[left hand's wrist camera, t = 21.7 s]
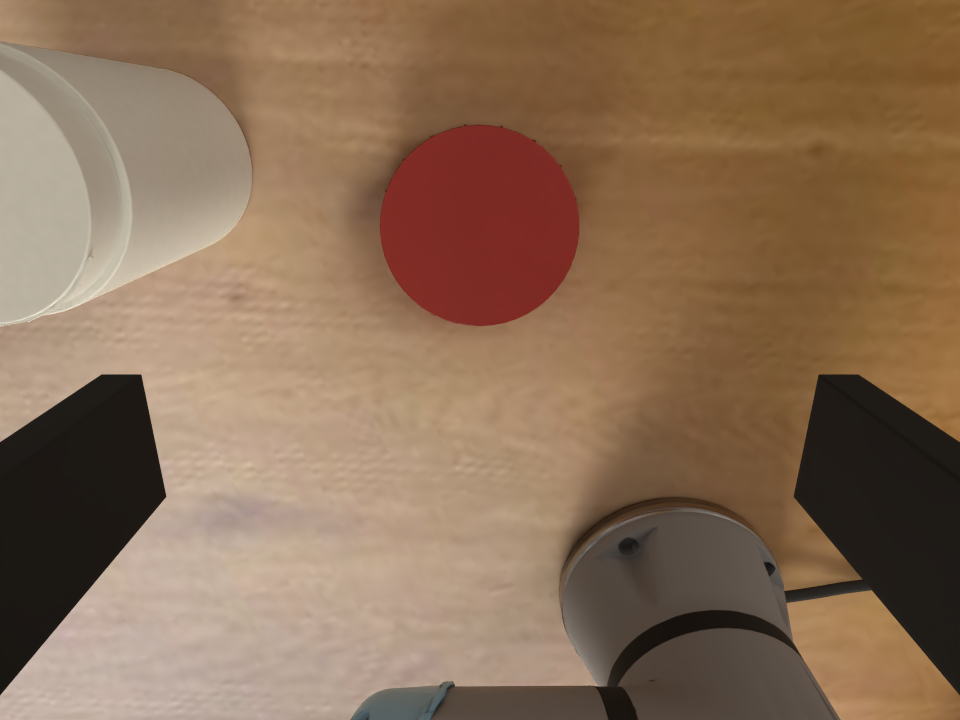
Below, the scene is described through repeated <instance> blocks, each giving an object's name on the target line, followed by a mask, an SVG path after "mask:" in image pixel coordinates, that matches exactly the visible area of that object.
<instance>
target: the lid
mask: <svg viewBox="0 0 960 720" xmlns="http://www.w3.org/2000/svg"><path fill="white" fill-rule="evenodd" d="M535 142H536V141H535V140H533V139H532V140H531V139H529V138H527V137H525V136H524V135H522V134H520V133H517V132H514V131H511V130H509V129H506V128H503V126H500V127H496V126H490V125H470V126H467V124H464V126H463V127H458V128H454V129H450V130H448V131H445V132H442V133H440V134H438V135H436V136H434V135H432V136H430V139H428V140H427V141H425V142H424V143H422V144H421V145H420V146H418V147H417V148H416V149H415V150H414V151H413V152H411V153H410V154H409V155H408V156H407V157H406V158H404V159H403V162H402V164H401V165H400V166H399V167H398V169H397V170H396V172H395V174H394V175H393V177H392V179H391V181H390V183H389V185H388V188H387V189H386V191H385V192H386V193H385V196H384V200H383V204H382V209H381V217H380V234H381V242H382V247H383V251H384V255H385V258H386V261H387V263H388V266H389V268H390V270H391V272H392V274H393V276H394V277H395V279H396V281H397V282H398V284H399V285H400V286H401V288H402V289H403V290H404V291H405V292H406V293H407V295H408V296H409V297H410V298H411V299H412V300H413V301H415V302H416V303H417V304H418V305H420V306H421V307H422V308H424V309H425V310H427V311H428V312H430V313H432V314H433V315H436V316H438V317H440V318H442V319H444V320H448V321H451V322H454V323H458V324H463V325H471V326H488V325H496V324H501V323H506V322H509V321H512V320H515V319H517V318H519V317H522V316H524V315H526V314H528V313H529V312H531V311H533V310H534V309H536V308H537V307H539V306H540V305H541V304H542V303H543V302H545V301H546V300H547V299H548V298H549V297H550V296H551V295H552V294H553V293H554V292H555V291H556V289H557V288H558V287H559V285H560V284H561V283H562V281H563V280H564V278H565V276H566V274H567V272H568V271H569V269H570V266H571V264H572V261H573V259H574V256H575V252H576V248H577V244H578V236H579V215H578V208H577V203H576V197H575V196H574V192H573V190H572V187H571V185H570V183H569V180H568V178H567V177H566V175H565V173H564V172H563V170H562V168H561V167H562V166H561V165H559V164H558V163H557V162H556V161H555V159H554V158H553V157H552V156H551V155H550V154H549V153H548V152H547V151H546V150H545V149H544V148H542V147H541V146H540V145H538V144H537V143H535Z"/></svg>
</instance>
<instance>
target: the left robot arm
mask: <svg viewBox="0 0 960 720" xmlns="http://www.w3.org/2000/svg"><path fill="white" fill-rule="evenodd" d="M165 498H166V493H165V488H164V483H163V478H162V473H161V468H160V464H159V459H158V454H157V449H156V444H155V439H154V434H153V429H152V425H151V420H150V415H149V410H148V405H147V400H146V395H145V390H144V386H143V381H142V376H141V375H100V376H99V377H97V378H96V379H94V380H93V381H91V382H90V383H88V384H87V385H85V386H84V387H82V388H81V389H79V390H78V391H76V392H75V393H73V394H72V395H70V396H69V397H67V398H66V399H64V400H63V401H61V402H60V403H58V404H57V405H55V406H54V407H52V408H51V409H49V410H48V411H46V412H45V413H43V414H42V415H40V416H39V417H37V418H36V419H34V420H33V421H31V422H30V423H28V424H27V425H25V426H24V427H22V428H21V429H19V430H18V431H16V432H15V433H13V434H12V435H10V436H9V437H7V438H6V439H4V440H3V441H1V442H0V695H1V694H2V692H3V691H4V690H5V689H6V688H7V686H8V685H9V684H10V683H11V682H12V680H13V679H14V678H15V677H16V676H17V674H18V673H19V672H20V671H21V670H22V668H23V667H24V666H25V665H26V664H27V663H28V661H29V660H30V659H31V658H32V657H33V655H34V654H35V653H36V652H37V651H38V649H39V648H40V647H41V646H42V645H43V643H44V642H45V641H46V640H47V639H48V637H49V636H50V635H51V634H52V633H53V631H54V630H55V629H56V628H57V627H58V625H59V624H60V623H61V622H62V621H63V620H64V618H65V617H66V616H67V615H68V614H69V612H70V611H71V610H72V609H73V608H74V606H75V605H76V604H77V603H78V602H79V600H80V599H81V598H82V597H83V596H84V594H85V593H86V592H87V591H88V590H89V588H90V587H91V586H92V585H93V584H94V583H95V581H96V580H97V579H98V578H99V577H100V575H101V574H102V573H103V572H104V571H105V569H106V568H107V567H108V566H109V565H110V563H111V562H112V561H113V560H114V559H115V557H116V556H117V555H118V554H119V553H120V551H121V550H122V549H123V548H124V547H125V545H126V544H127V543H128V542H129V541H130V540H131V538H132V537H133V536H134V535H135V534H136V532H137V531H138V530H139V529H140V528H141V526H142V525H143V524H144V523H145V522H146V520H147V519H148V518H149V517H150V516H151V514H152V513H153V512H154V511H155V510H156V508H157V507H158V506H159V505H160V504H161V502H162V501H163V500H164V499H165ZM794 498H795V499H796V500H797V501H798V502H799V504H800V505H801V506H802V507H803V508H804V510H805V511H806V512H807V513H808V514H809V516H810V517H811V518H812V519H813V520H814V522H815V523H816V524H817V525H818V526H819V528H820V529H821V530H822V531H823V532H824V534H825V535H826V536H827V537H828V538H829V540H830V541H831V542H832V543H833V544H834V545H835V547H836V548H837V549H838V550H839V551H840V553H841V554H842V555H843V556H844V557H845V559H846V560H847V561H848V562H849V563H850V565H851V566H852V567H853V568H854V569H855V571H856V572H857V573H858V574H859V575H860V577H861V578H862V579H863V580H856V581H848V582H841V583H834V584H828V585H823V586H817V587H811V588H804V589H797V590H790V591H784V587H783V582H782V578H781V574H780V572H779V568H778V566H777V563H776V561H775V559H774V557H773V555H772V553H771V552H770V550H769V549H768V547H767V546H766V544H765V543H764V541H763V540H762V538H761V537H760V535H759V534H758V533H757V531H756V530H755V529H754V528H753V527H752V526H751V525H750V524H749V523H748V522H747V521H746V520H744V519H743V518H742V517H740V516H739V515H737V514H736V513H734V512H732V511H730V510H728V509H726V508H724V507H722V506H719V505H716V504H713V503H710V502H706V501H702V500H696V499H688V498H665V499H657V500H652V501H647V502H643V503H639V504H636V505H633V506H630V507H627V508H625V509H622V510H620V511H618V512H616V513H614V514H612V515H611V516H609V517H607V518H605V519H604V520H602V521H601V522H600V523H598V524H597V525H595V526H594V527H593V528H592V529H591V530H590V531H588V532H587V533H586V534H585V535H584V537H583V538H582V539H581V540H580V541H579V542H578V543H577V545H576V546H575V547H574V549H573V550H572V552H571V554H570V555H569V557H568V559H567V561H566V563H565V566H564V569H563V571H562V575H561V579H560V587H559V598H560V606H561V612H562V618H563V623H564V627H565V630H566V632H567V635H568V637H569V639H570V641H571V643H572V645H573V647H574V649H575V650H576V652H577V653H578V655H579V656H580V657H581V659H582V660H583V662H584V663H585V665H586V667H587V668H588V670H589V672H590V673H591V675H592V677H593V678H594V680H595V682H596V683H597V685H598V686H484V687H455V684H454V683H453V681H446V682H443V683H442V684H441V685H440V686H426V687H409V688H393V689H386V690H382V691H380V692H377V693H375V694H373V695H372V696H370V697H369V698H368V699H366V700H365V701H364V702H363V703H362V704H361V706H360V707H359V708H358V709H357V710H356V712H355V713H354V715H353V717H352V718H351V720H840V718H839V717H838V715H837V714H836V712H835V710H834V709H833V707H832V705H831V704H830V702H829V700H828V699H827V697H826V696H825V694H824V692H823V691H822V689H821V687H820V686H819V684H818V682H817V681H816V679H815V678H814V676H813V674H812V673H811V671H810V669H809V668H808V666H807V665H806V663H805V662H804V660H803V658H802V657H801V655H800V653H799V652H798V650H797V648H796V646H795V645H794V643H793V639H792V633H791V627H790V622H789V616H788V610H787V604H786V603H789V602H796V601H803V600H810V599H816V598H822V597H828V596H834V595H839V594H846V593H853V592H861V591H869V590H872V591H873V592H874V593H875V594H876V596H877V597H878V598H879V599H880V600H881V602H882V603H883V604H884V605H885V606H886V608H887V609H888V610H889V611H890V612H891V614H892V615H893V616H894V617H895V618H896V620H897V621H898V622H899V623H900V624H901V625H902V627H903V628H904V629H905V630H906V631H907V633H908V634H909V635H910V636H911V637H912V639H913V640H914V641H915V642H916V643H917V645H918V646H919V647H920V648H921V649H922V651H923V652H924V653H925V654H926V655H927V657H928V658H929V659H930V660H931V661H932V663H933V664H934V665H935V666H936V667H937V668H938V670H939V671H940V672H941V673H942V674H943V676H944V677H945V678H946V679H947V680H948V682H949V683H950V684H951V685H952V686H953V688H954V689H955V690H956V691H957V692H958V694H959V695H960V442H959V441H957V440H956V439H954V438H953V437H951V436H950V435H948V434H947V433H945V432H944V431H942V430H941V429H939V428H938V427H936V426H935V425H933V424H932V423H930V422H929V421H927V420H926V419H924V418H923V417H921V416H920V415H918V414H917V413H915V412H914V411H912V410H911V409H909V408H908V407H906V406H905V405H903V404H902V403H900V402H899V401H897V400H896V399H894V398H893V397H891V396H890V395H888V394H887V393H885V392H884V391H882V390H881V389H879V388H878V387H876V386H875V385H873V384H872V383H870V382H869V381H867V380H866V379H864V378H863V377H861V376H860V375H819V376H818V381H817V386H816V390H815V395H814V400H813V405H812V410H811V415H810V420H809V425H808V429H807V434H806V439H805V444H804V449H803V454H802V459H801V464H800V468H799V473H798V478H797V483H796V488H795V493H794Z"/></svg>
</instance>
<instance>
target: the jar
mask: <svg viewBox="0 0 960 720" xmlns="http://www.w3.org/2000/svg"><path fill="white" fill-rule="evenodd" d="M251 187H252V164H251V158H250V153H249V149H248V146H247V143H246V140H245V137H244V135H243V133H242V131H241V129H240V127H239V125H238V123H237V122H236V120H235V118H234V117H233V115H232V114H231V112H230V111H229V110H228V109H227V107H226V106H225V105H224V104H223V103H222V102H221V101H220V100H219V99H218V98H217V97H216V96H215V95H214V94H213V93H212V92H211V91H209V90H208V89H207V88H206V87H204V86H203V85H201V84H200V83H198V82H196V81H195V80H193V79H191V78H189V77H187V76H185V75H183V74H180V73H177V72H174V71H171V70H167V69H162V68H156V67H150V66H144V65H138V64H132V63H126V62H121V61H115V60H109V59H103V58H97V57H91V56H85V55H79V54H73V53H67V52H61V51H55V50H49V49H43V48H38V47H32V46H26V45H20V44H14V43H8V42H2V41H0V326H5V325H11V324H17V323H23V322H30V321H32V320H34V319H36V318H38V317H40V316H42V315H50V314H54V313H58V312H63V311H66V310H68V309H71V308H74V307H76V306H79V305H81V304H83V303H85V302H87V301H90V300H92V299H94V298H96V297H98V296H101V295H103V294H105V293H107V292H109V291H111V290H114V289H116V288H118V287H120V286H122V285H125V284H127V283H129V282H131V281H133V280H136V279H138V278H140V277H142V276H144V275H146V274H149V273H151V272H153V271H155V270H157V269H160V268H162V267H164V266H166V265H168V264H171V263H173V262H175V261H177V260H179V259H181V258H184V257H186V256H188V255H190V254H192V253H195V252H197V251H199V250H201V249H203V248H206V247H208V246H210V245H212V244H214V243H216V242H217V241H219V240H221V239H222V238H223V237H224V236H226V235H227V234H228V233H229V232H230V231H231V230H232V229H233V228H234V227H235V226H236V225H237V223H238V222H239V220H240V219H241V217H242V215H243V213H244V211H245V209H246V207H247V204H248V201H249V198H250V193H251Z"/></svg>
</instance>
